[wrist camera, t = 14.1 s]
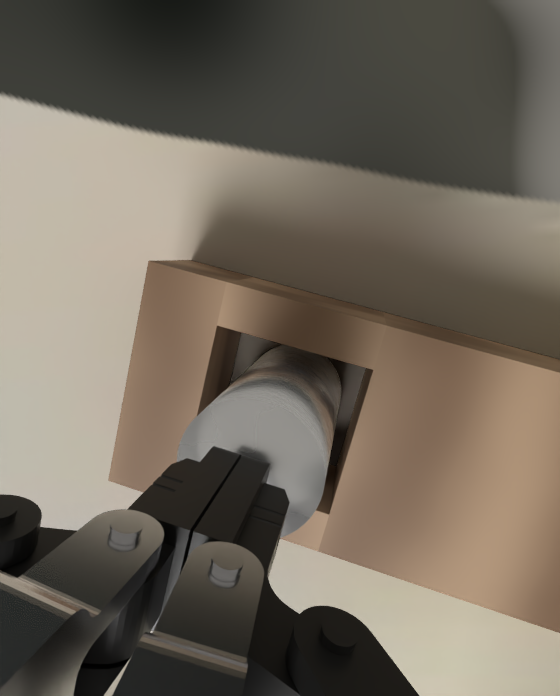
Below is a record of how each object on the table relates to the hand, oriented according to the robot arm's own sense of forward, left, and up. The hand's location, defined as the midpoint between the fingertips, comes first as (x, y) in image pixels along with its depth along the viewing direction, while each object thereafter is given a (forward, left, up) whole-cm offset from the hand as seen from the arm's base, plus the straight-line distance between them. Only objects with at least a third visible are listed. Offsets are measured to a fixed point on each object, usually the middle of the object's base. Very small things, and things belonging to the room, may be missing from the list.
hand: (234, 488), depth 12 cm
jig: (-4, -6, -9) cm, 11 cm away
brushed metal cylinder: (0, 0, -9) cm, 9 cm away
